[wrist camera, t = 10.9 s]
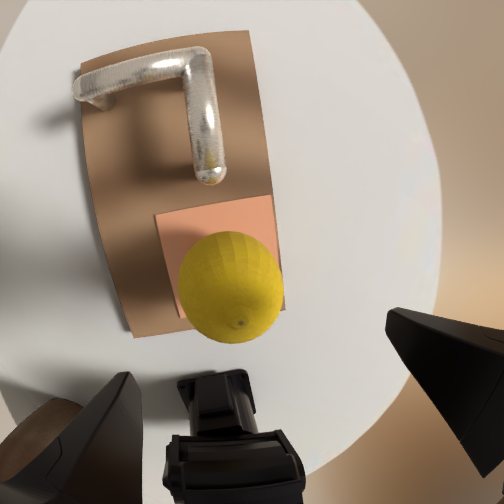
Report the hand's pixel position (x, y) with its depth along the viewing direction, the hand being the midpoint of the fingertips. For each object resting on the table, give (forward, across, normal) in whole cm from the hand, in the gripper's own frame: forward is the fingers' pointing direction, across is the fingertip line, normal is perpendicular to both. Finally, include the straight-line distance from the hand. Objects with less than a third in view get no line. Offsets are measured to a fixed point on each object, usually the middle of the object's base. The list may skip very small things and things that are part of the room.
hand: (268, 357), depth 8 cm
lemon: (+11, 0, 0) cm, 11 cm away
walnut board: (+12, +2, -5) cm, 13 cm away
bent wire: (+12, +3, -9) cm, 15 cm away
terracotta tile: (+12, 0, 0) cm, 12 cm away
